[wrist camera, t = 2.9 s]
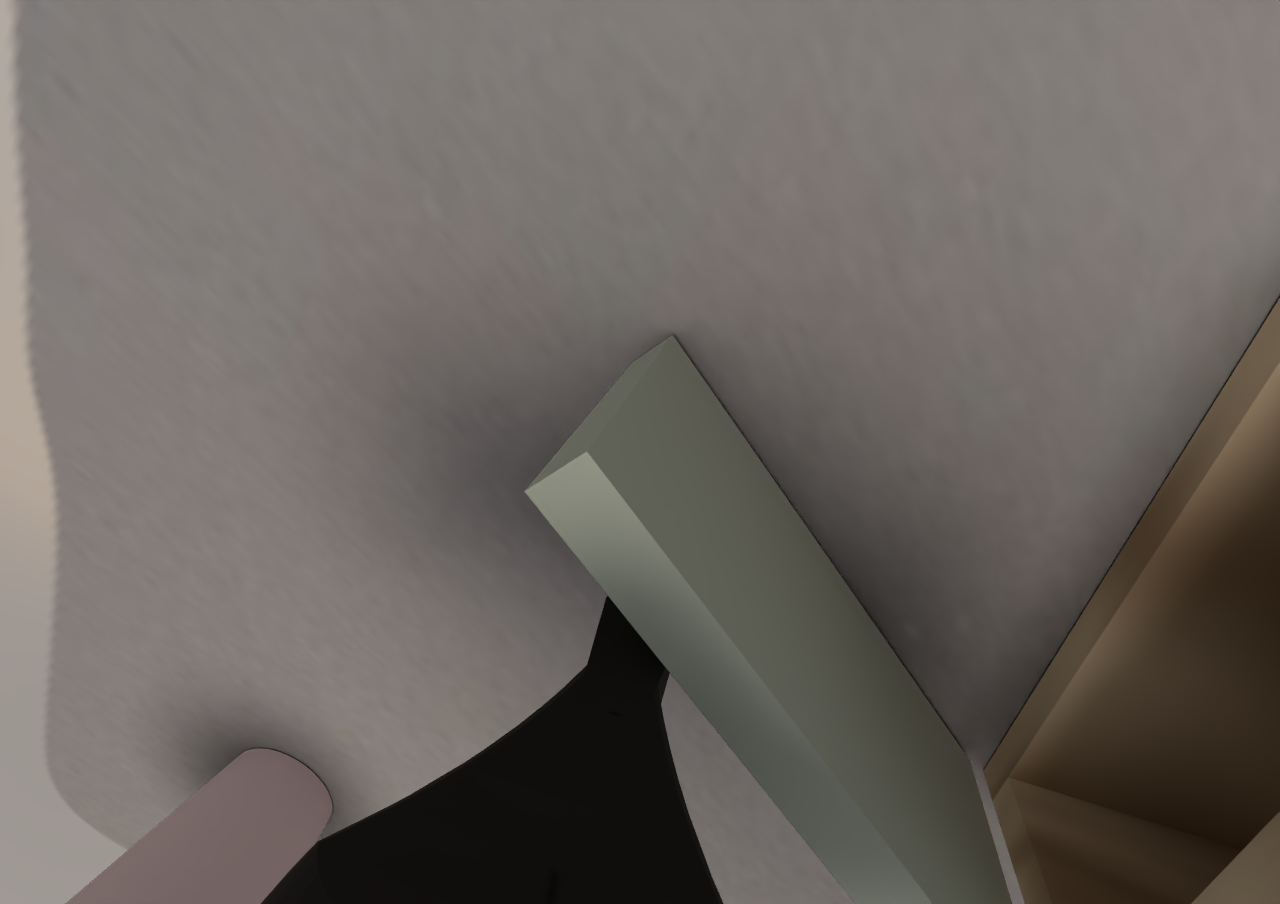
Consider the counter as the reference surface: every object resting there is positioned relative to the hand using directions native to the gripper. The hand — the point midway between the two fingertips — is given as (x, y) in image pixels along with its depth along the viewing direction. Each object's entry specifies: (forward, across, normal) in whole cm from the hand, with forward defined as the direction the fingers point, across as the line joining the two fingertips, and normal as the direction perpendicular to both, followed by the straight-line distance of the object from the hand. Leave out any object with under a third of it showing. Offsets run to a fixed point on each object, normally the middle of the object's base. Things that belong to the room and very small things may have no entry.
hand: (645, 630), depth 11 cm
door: (+3, -3, 0) cm, 4 cm away
